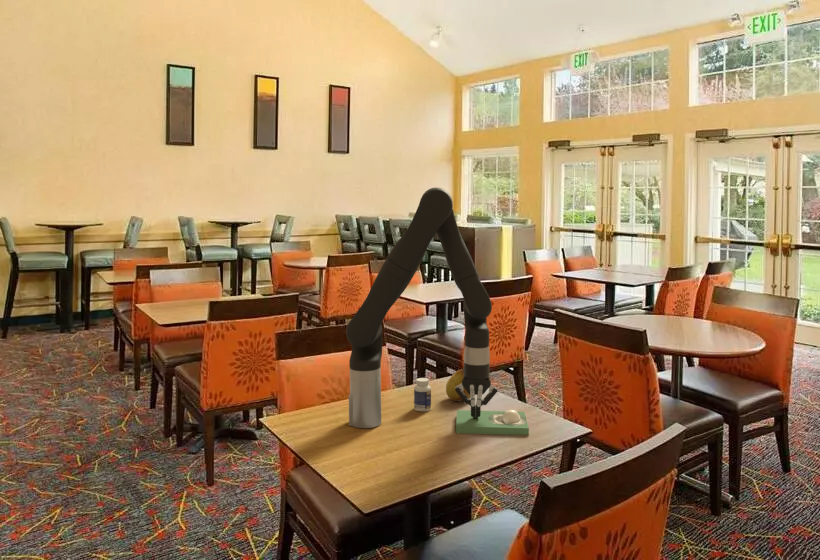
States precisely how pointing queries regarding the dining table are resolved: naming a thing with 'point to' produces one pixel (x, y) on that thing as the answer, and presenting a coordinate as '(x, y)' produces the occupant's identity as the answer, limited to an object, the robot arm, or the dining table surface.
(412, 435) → the dining table surface
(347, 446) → the dining table surface
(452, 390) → the fruit
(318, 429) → the dining table surface
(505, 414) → the ball
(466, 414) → the green flat block
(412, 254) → the robot arm
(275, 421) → the dining table surface
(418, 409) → the pill bottle
